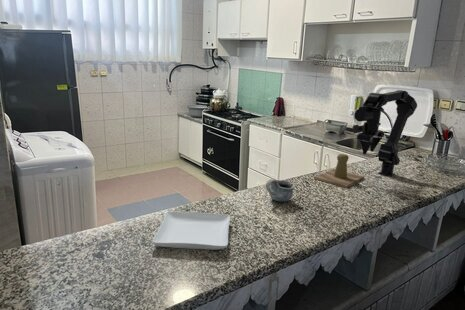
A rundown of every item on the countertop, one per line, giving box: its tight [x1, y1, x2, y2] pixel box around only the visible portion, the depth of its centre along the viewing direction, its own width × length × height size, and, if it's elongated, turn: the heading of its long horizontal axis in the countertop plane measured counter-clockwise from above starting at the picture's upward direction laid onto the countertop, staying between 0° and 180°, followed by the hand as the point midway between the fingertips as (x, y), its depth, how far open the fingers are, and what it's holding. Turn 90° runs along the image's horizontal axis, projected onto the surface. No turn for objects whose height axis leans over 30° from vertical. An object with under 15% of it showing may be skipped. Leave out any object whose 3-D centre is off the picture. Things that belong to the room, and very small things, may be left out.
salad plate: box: [152, 210, 231, 251], centre depth 104 cm, size 21×21×3 cm
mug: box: [265, 177, 295, 203], centre depth 133 cm, size 10×12×10 cm
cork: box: [334, 153, 349, 179], centre depth 163 cm, size 6×6×11 cm
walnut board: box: [314, 168, 365, 189], centre depth 165 cm, size 20×16×1 cm
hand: (368, 152), depth 164 cm, fingers open, 9 cm apart
